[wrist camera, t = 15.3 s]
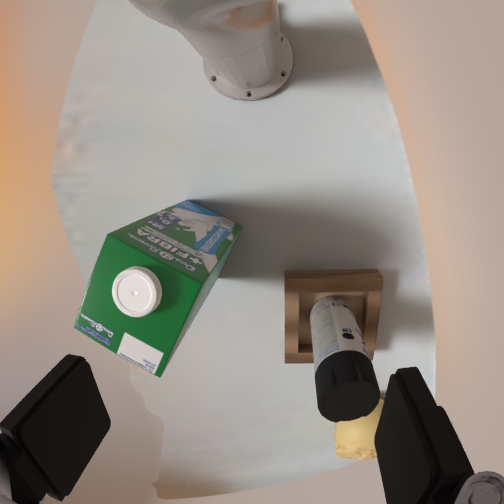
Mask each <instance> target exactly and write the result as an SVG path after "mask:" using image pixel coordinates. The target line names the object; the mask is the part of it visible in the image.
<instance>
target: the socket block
mask: <svg viewBox="0 0 504 504" xmlns="http://www.w3.org/2000/svg"><path fill="white" fill-rule="evenodd" d="M382 286H383V277H382V275H381V274H380V273H379V271H378V270H333V271H285V363H314V357H313V345H312V334H311V323H310V314H311V310H312V308H313V306H314V305H315V303H316V302H317V301H318V300H320V299H322V298H324V297H327V296H332V295H333V296H340V297H342V298H344V299H345V300H347V301H348V303H349V304H350V305H351V307H352V309H353V312H354V315H355V317H356V320H357V323H358V326H359V328H360V331H361V334H362V337H363V339H364V342H365V345H366V348H367V351H368V354H369V357H370V359H371V360H373V355H374V349H375V342H376V336H377V328H378V321H379V313H380V305H381V296H382Z"/></svg>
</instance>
